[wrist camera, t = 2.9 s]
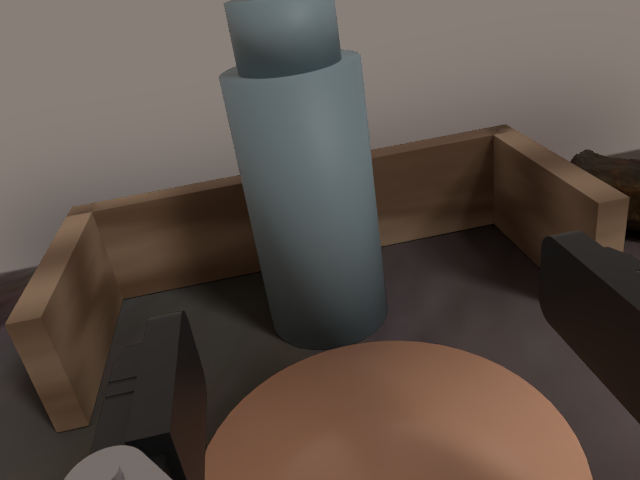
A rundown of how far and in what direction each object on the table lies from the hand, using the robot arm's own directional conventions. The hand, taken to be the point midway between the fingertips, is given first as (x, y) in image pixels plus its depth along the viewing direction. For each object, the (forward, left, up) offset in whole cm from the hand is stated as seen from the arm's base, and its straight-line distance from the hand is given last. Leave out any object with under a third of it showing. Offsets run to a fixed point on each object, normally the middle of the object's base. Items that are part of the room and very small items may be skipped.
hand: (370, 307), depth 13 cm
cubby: (+6, -11, -8) cm, 14 cm away
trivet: (+1, -1, -8) cm, 8 cm away
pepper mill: (+6, -10, -8) cm, 13 cm away
